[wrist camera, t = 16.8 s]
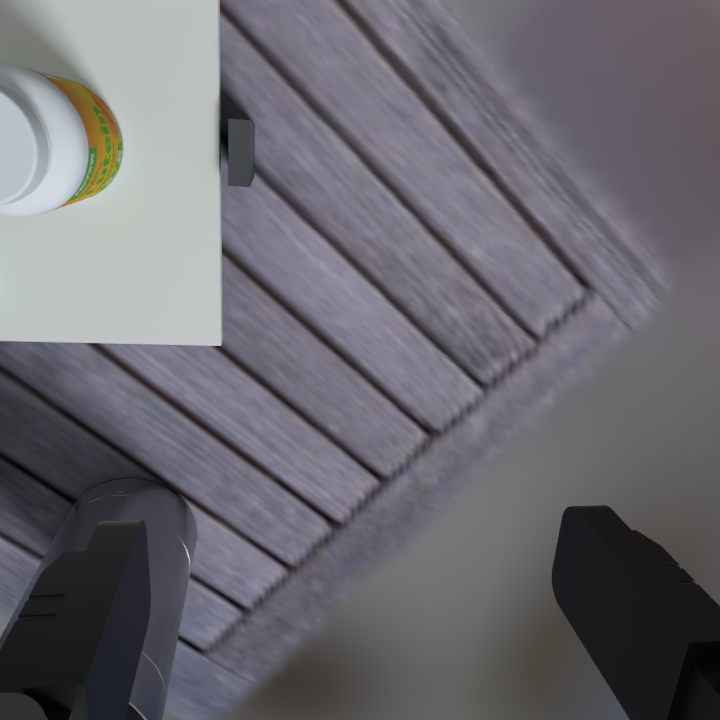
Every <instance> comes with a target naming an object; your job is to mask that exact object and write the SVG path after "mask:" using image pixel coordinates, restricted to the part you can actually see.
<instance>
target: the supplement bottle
mask: <svg viewBox="0 0 720 720" xmlns="http://www.w3.org/2000/svg"><path fill="white" fill-rule="evenodd" d="M123 156H124V140H123V134H122V131H121V128H120V125H119V122H118V120H117V118H116V116H115V115H114V113H113V111H112V110H111V108H110V107H109V106H108V105H107V103H106V102H105V101H104V100H103V99H102V98H101V97H100V96H99V95H97V94H96V93H95V92H94V91H92V90H91V89H89V88H87V87H86V86H84V85H82V84H80V83H77V82H75V81H72V80H69V79H66V78H62V77H58V76H54V75H51V74H47V73H43V72H39V71H36V70H32V69H29V68H25V67H22V66H19V65H15V64H10V63H3V62H0V215H5V216H12V217H27V216H35V215H40V214H44V213H47V212H50V211H53V210H56V209H58V208H61V207H64V206H67V205H70V204H73V203H75V202H79V201H82V200H85V199H87V198H90V197H92V196H94V195H96V194H98V193H100V192H101V191H103V190H104V189H106V188H107V187H108V186H109V185H110V184H111V183H112V182H113V180H114V179H115V178H116V176H117V174H118V172H119V170H120V168H121V165H122V161H123Z"/></svg>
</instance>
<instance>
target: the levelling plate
mask: <svg viewBox="0 0 720 720" xmlns="http://www.w3.org/2000/svg"><path fill="white" fill-rule="evenodd" d="M0 62H3V63H10V64H15V65H19V66H22V67H25V68H29V69H32V70H36V71H39V72H43V73H47V74H51V75H54V76H58V77H62V78H66V79H69V80H72V81H75V82H77V83H80V84H82V85H84V86H86V87H87V88H89V89H91V90H92V91H94V92H95V93H96V94H97V95H99V96H100V97H101V98H102V99H103V100H104V101H105V102H106V103H107V105H108V106H109V107H110V108H111V110H112V111H113V113H114V115H115V116H116V118H117V120H118V122H119V125H120V128H121V131H122V134H123V140H124V156H123V161H122V165H121V168H120V170H119V172H118V174H117V176H116V178H115V179H114V180H113V182H112V183H111V184H110V185H109V186H108V187H107V188H106V189H104V190H103V191H101V192H100V193H98V194H96V195H94V196H92V197H90V198H87V199H85V200H82V201H79V202H75V203H73V204H70V205H67V206H64V207H61V208H58V209H56V210H53V211H50V212H47V213H44V214H40V215H35V216H27V217H12V216H5V215H0V341H27V342H73V343H118V344H164V345H209V346H221V343H222V237H221V113H220V0H0Z"/></svg>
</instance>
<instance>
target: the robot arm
mask: <svg viewBox="0 0 720 720" xmlns="http://www.w3.org/2000/svg"><path fill="white" fill-rule="evenodd" d="M196 540H197V527H196V523H195V520H194V516H193V514H192V513H191V511H190V509H189V507H188V506H187V504H186V503H185V502H184V501H183V500H182V499H181V498H180V497H179V496H178V495H176V494H175V493H174V492H172V491H171V490H170V489H168V488H166V487H164V486H161V485H159V484H157V483H154V482H150V481H146V480H142V479H129V478H128V479H118V480H112V481H109V482H105V483H102V484H99V485H97V486H95V487H93V488H92V489H90V490H88V491H87V492H86V493H84V494H83V495H82V496H81V497H79V498H78V500H77V501H76V502H75V504H74V505H73V506H72V507H71V509H70V511H69V513H68V515H67V516H66V518H65V520H64V522H63V524H62V526H61V527H60V529H59V531H58V533H57V535H56V537H55V538H54V540H53V542H52V543H51V545H50V547H49V549H48V551H47V553H46V554H45V556H44V558H43V560H42V562H41V564H40V565H39V567H38V569H37V571H36V573H35V575H34V576H33V578H32V580H31V582H30V584H29V586H28V587H27V589H26V591H25V593H24V595H23V597H22V598H21V600H20V602H19V604H18V606H17V608H16V610H15V611H14V613H13V615H12V617H11V619H10V621H9V622H8V624H7V626H6V628H5V630H4V632H3V633H2V636H1V637H0V720H163V715H164V710H165V703H166V698H167V693H168V687H169V682H170V677H171V671H172V666H173V661H174V655H175V650H176V645H177V639H178V634H179V629H180V624H181V618H182V613H183V608H184V602H185V597H186V592H187V586H188V581H189V577H190V572H191V566H192V561H193V556H194V550H195V545H196ZM552 586H553V591H554V595H555V598H556V600H557V603H558V605H559V607H560V608H561V610H562V611H563V613H564V615H565V616H566V618H567V619H568V621H569V623H570V624H571V626H572V627H573V629H574V631H575V632H576V634H577V636H578V637H579V639H580V640H581V642H582V644H583V645H584V647H585V648H586V649H587V652H588V653H589V655H590V656H591V658H592V659H593V661H594V663H595V664H596V666H597V668H598V669H599V671H600V672H601V674H602V676H603V677H604V679H605V680H606V682H607V684H608V685H609V687H610V688H611V690H612V692H613V693H614V695H615V696H616V698H617V700H618V701H619V703H620V704H621V706H622V708H623V709H624V711H625V712H626V714H627V715H628V717H629V718H630V720H720V606H719V605H718V604H717V603H716V602H715V601H714V600H713V599H712V598H711V597H710V596H709V595H708V594H707V593H706V592H705V591H704V590H703V589H702V588H701V587H700V586H699V585H696V584H695V582H694V579H693V578H692V577H691V576H690V575H689V574H688V573H687V572H686V571H685V570H684V569H680V567H679V564H678V563H677V562H676V561H675V560H674V559H673V558H672V557H671V556H670V555H669V554H668V553H667V551H665V549H664V548H663V547H662V546H660V545H659V544H657V543H656V542H654V541H652V540H651V539H649V538H647V537H646V536H644V535H642V534H641V533H640V532H638V531H636V530H631V529H630V528H629V527H628V526H627V525H626V524H625V523H624V522H623V521H622V520H621V518H619V516H618V515H617V514H616V513H615V512H614V511H613V510H612V509H611V508H610V507H608V506H605V505H602V506H572V507H568V508H567V509H566V510H565V511H564V514H563V517H562V521H561V527H560V532H559V537H558V543H557V548H556V553H555V558H554V563H553V569H552Z"/></svg>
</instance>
